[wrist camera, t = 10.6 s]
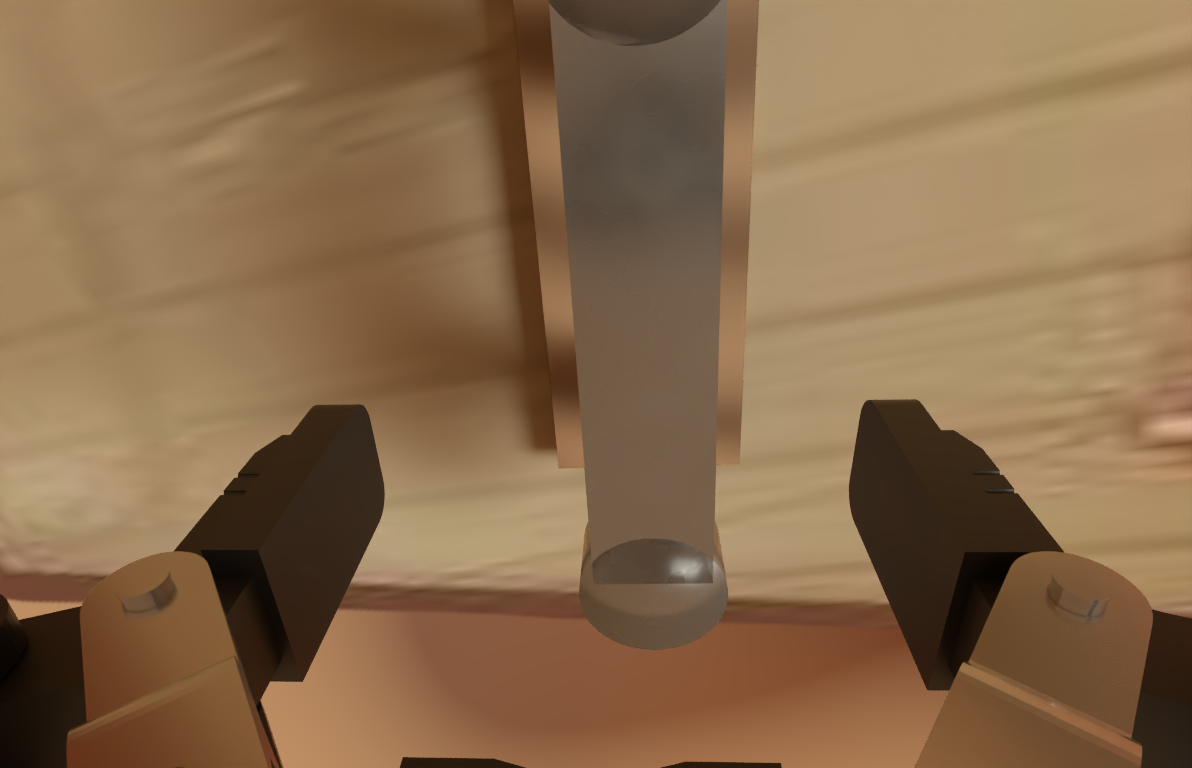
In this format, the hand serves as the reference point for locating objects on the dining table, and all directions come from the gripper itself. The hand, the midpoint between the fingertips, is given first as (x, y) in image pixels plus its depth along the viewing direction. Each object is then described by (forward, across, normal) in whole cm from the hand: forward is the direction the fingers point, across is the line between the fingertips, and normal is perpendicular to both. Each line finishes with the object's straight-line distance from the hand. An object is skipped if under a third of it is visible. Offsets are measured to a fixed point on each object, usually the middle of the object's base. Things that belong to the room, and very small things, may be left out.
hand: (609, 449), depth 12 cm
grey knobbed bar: (+8, -1, +1) cm, 9 cm away
